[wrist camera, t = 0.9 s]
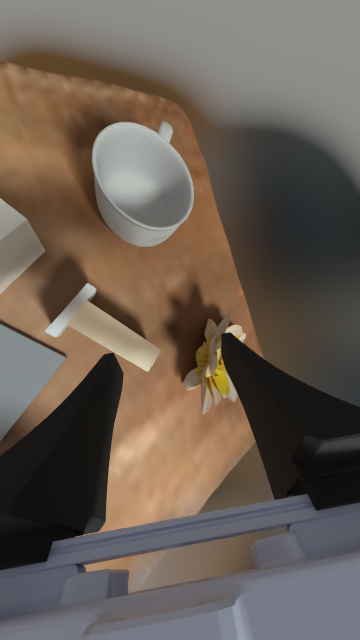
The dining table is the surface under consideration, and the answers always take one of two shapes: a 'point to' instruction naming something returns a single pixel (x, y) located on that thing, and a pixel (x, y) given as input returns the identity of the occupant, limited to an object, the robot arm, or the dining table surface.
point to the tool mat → (22, 373)
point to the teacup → (141, 182)
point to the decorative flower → (213, 365)
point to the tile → (16, 245)
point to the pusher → (104, 330)
